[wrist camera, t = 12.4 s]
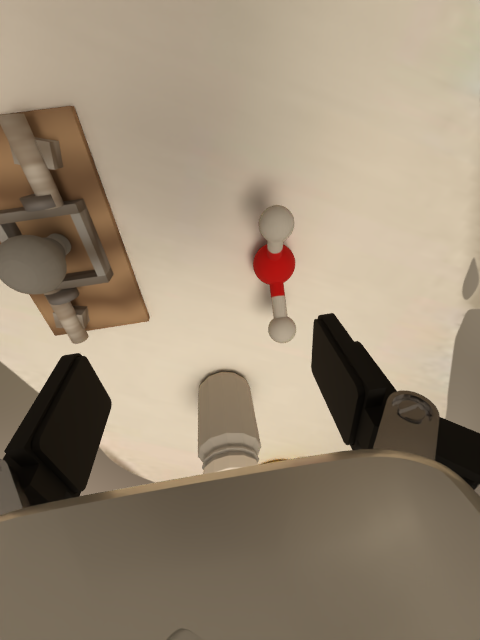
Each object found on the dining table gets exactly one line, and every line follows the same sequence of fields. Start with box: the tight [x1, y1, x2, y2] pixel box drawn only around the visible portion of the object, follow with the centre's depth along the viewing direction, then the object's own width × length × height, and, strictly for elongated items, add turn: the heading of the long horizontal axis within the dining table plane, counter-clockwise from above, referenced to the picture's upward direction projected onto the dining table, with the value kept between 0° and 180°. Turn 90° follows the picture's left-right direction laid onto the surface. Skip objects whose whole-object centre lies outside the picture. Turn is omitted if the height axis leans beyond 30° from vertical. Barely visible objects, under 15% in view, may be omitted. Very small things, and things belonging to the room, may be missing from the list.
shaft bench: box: [0, 106, 150, 344], centre depth 33 cm, size 26×14×5 cm, turn 6°
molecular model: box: [253, 205, 296, 343], centre depth 36 cm, size 18×6×10 cm, turn 14°
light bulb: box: [0, 233, 71, 294], centre depth 30 cm, size 6×6×10 cm
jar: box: [198, 372, 261, 474], centre depth 46 cm, size 10×10×18 cm
